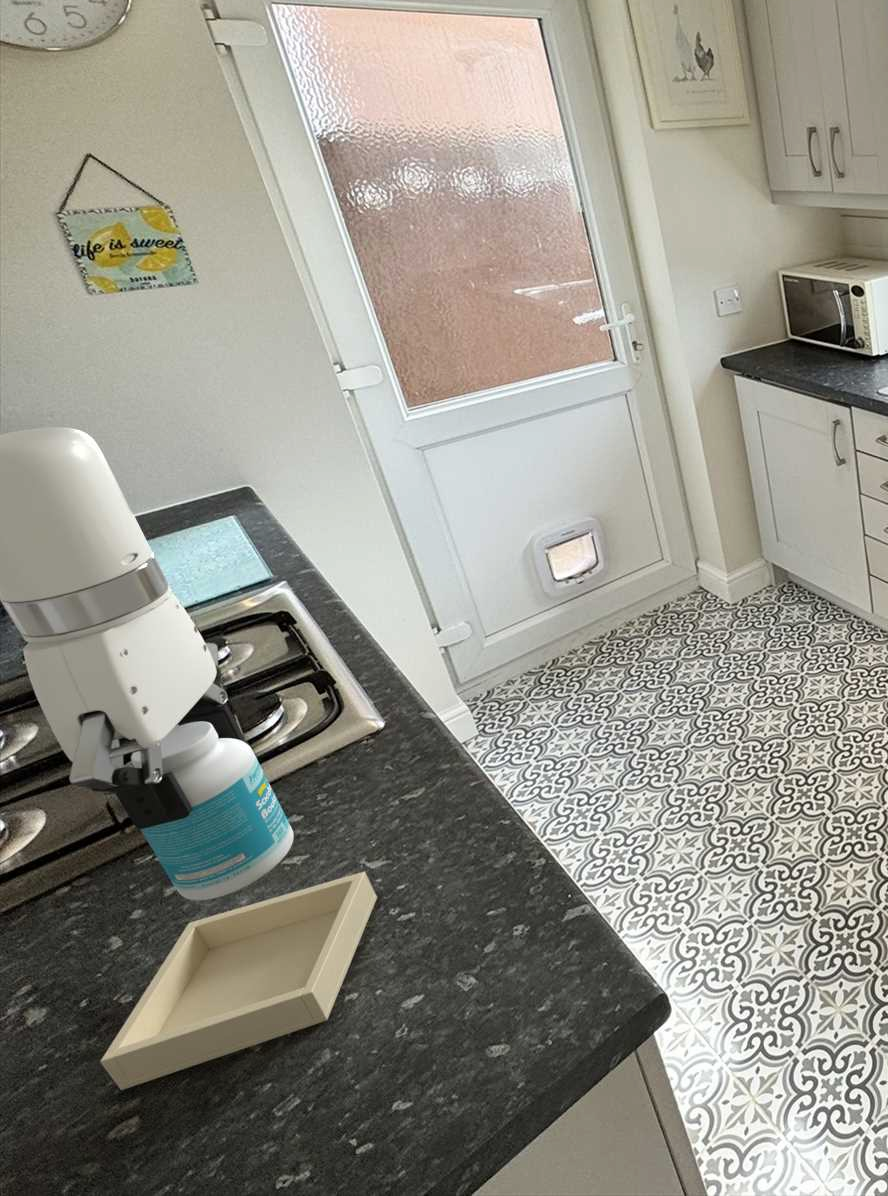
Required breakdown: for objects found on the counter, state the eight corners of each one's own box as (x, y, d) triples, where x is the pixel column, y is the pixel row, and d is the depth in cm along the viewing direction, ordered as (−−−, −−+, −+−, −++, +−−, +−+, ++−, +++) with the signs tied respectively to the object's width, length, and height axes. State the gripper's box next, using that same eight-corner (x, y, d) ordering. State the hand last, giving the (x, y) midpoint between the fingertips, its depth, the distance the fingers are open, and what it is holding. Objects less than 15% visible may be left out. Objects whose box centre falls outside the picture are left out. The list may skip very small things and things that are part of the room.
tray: (120, 1090, 62) (99, 1061, 60) (205, 949, 73) (188, 922, 71) (327, 1020, 66) (311, 992, 65) (377, 897, 77) (365, 870, 76)
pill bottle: (311, 852, 67) (249, 728, 62) (197, 921, 62) (118, 791, 57) (279, 817, 71) (217, 698, 66) (168, 879, 65) (92, 754, 60)
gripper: (102, 554, 63) (195, 727, 69) (-81, 680, 48) (59, 887, 54) (218, 534, 65) (297, 704, 72) (79, 649, 50) (195, 851, 57)
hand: (194, 782), depth 63 cm, fingers closed on pill bottle, 7 cm apart
